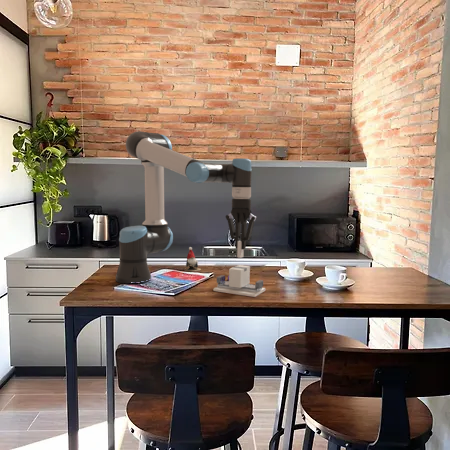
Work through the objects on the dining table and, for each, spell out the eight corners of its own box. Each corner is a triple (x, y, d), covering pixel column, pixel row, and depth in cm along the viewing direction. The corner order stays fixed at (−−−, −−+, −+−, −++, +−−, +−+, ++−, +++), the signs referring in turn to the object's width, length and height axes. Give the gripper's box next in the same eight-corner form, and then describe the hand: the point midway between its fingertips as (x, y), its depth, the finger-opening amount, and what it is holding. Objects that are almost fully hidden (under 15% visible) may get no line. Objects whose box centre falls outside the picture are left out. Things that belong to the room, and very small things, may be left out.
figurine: (198, 265, 203) (183, 247, 208) (188, 279, 208) (174, 261, 212) (209, 262, 210) (194, 245, 215) (198, 276, 214) (184, 259, 219)
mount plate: (213, 290, 172) (213, 288, 171) (225, 285, 181) (225, 282, 181) (254, 296, 164) (255, 294, 164) (265, 290, 173) (265, 288, 173)
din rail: (215, 286, 174) (215, 277, 173) (222, 283, 179) (222, 274, 179) (258, 293, 166) (258, 283, 165) (263, 289, 171) (264, 280, 171)
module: (228, 286, 169) (229, 268, 169) (238, 281, 177) (238, 264, 177) (240, 287, 167) (240, 270, 166) (249, 283, 175) (250, 266, 174)
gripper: (222, 197, 168) (221, 257, 171) (252, 198, 162) (251, 260, 165) (230, 197, 175) (229, 254, 177) (260, 198, 169) (259, 257, 171)
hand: (240, 257), depth 171 cm, fingers closed
